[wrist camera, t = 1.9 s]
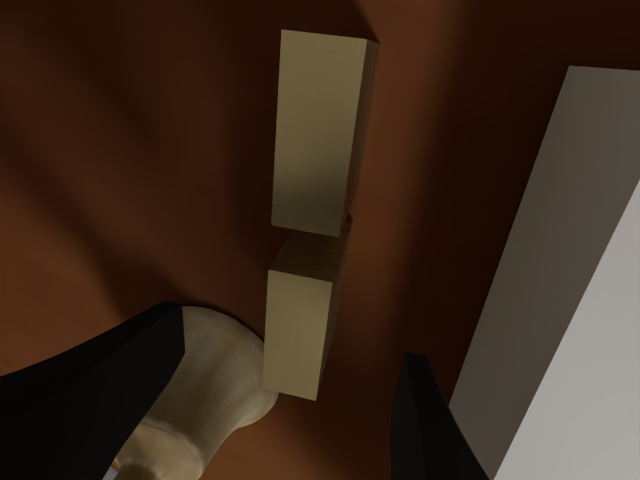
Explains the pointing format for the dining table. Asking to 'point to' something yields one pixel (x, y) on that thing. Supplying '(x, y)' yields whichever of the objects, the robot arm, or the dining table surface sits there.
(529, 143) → the dining table surface
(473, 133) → the dining table surface
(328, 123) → the block
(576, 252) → the box
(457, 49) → the dining table surface
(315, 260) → the block
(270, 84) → the dining table surface
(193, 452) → the hand bell
